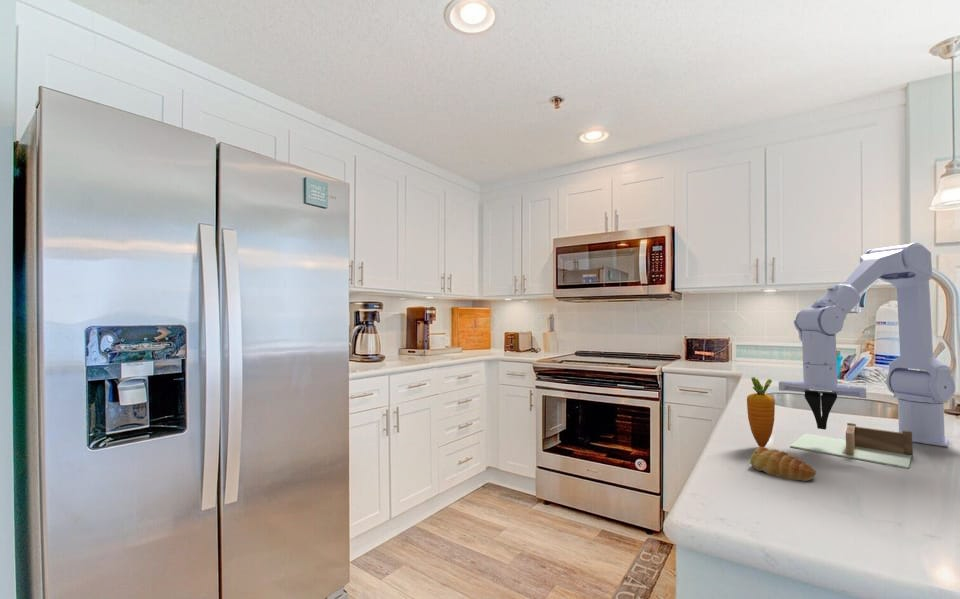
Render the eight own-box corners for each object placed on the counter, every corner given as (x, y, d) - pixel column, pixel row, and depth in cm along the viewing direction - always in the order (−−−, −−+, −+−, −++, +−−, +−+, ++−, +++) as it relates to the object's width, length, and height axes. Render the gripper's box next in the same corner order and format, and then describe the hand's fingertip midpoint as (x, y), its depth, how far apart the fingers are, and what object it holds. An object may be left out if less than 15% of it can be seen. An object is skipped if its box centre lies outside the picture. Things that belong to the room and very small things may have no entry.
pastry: (823, 478, 75) (822, 456, 76) (804, 487, 72) (803, 463, 72) (765, 463, 84) (765, 442, 84) (745, 469, 80) (745, 448, 80)
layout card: (804, 434, 102) (804, 432, 102) (912, 451, 89) (912, 449, 89) (790, 447, 93) (790, 445, 93) (908, 468, 79) (908, 466, 79)
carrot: (775, 446, 93) (773, 376, 93) (776, 453, 89) (774, 379, 89) (748, 443, 96) (746, 374, 96) (747, 449, 91) (745, 377, 92)
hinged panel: (846, 453, 87) (845, 433, 87) (848, 444, 93) (847, 425, 93) (854, 454, 86) (853, 434, 86) (855, 445, 92) (854, 426, 92)
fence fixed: (848, 443, 94) (847, 422, 94) (912, 454, 87) (912, 431, 87) (847, 445, 93) (846, 423, 93) (912, 455, 86) (911, 432, 86)
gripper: (775, 363, 94) (777, 426, 94) (865, 368, 85) (867, 438, 84) (780, 360, 100) (782, 420, 99) (865, 364, 90) (867, 430, 90)
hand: (821, 428), depth 92 cm, fingers closed
